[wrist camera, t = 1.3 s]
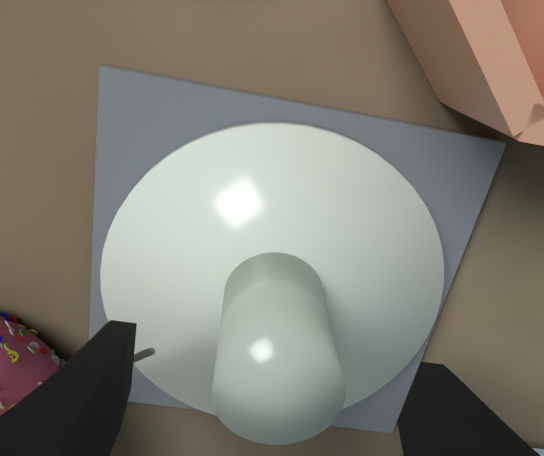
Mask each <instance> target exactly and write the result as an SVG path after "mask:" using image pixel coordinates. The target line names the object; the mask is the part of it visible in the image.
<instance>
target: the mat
mask: <svg viewBox="0 0 544 456" xmlns="http://www.w3.org/2000/svg"><path fill="white" fill-rule="evenodd" d="M283 120H284V121H292V122H301V123H309V124H313V125H317V126H320V127H324V128H328V129H332V130H334V131H337V132H339V133H342V134H344V135H347V136H349V137H352V138H354V139H356V140H357V141H359V142H361V143H363V144H364V145H366V146H368V147H370V148H371V149H373V150H374V151H376V152H377V153H378V154H380V155H381V156H382V157H383V158H385V159H386V160H387V161H388V162H390V163H391V164H392V165H393V166H394V167H395V168H396V169H397V170H398V171H399V172H400V173H401V174H402V176H403V177H404V178H405V179H406V180H407V181H408V182H409V183H410V184H411V185H412V187H413V188H414V189H415V190H416V192H417V193H418V195H419V196H420V198H421V199H422V200H423V202H424V203H425V205H426V206H427V209H428V211H429V213H430V215H431V217H432V219H433V221H434V223H435V225H436V228H437V232H438V235H439V238H440V241H441V245H442V252H443V259H444V286H443V293H442V299H441V304H440V307H439V310H438V313H437V316H436V320H435V322H434V324H433V326H432V328H431V330H430V332H429V335H428V337H427V338H426V340H425V341H424V343H423V345H422V346H421V348H420V349H419V351H418V352H417V354H416V355H415V356H414V357H413V358H412V360H411V361H410V362H409V363H408V364H407V366H406V367H405V368H404V369H403V370H402V371H401V372H400V373H398V374H397V375H396V376H395V377H394V378H393V379H392V380H391V381H390V382H388V383H387V384H386V385H384V386H383V387H382V388H380V389H379V390H378V391H376V392H375V393H373V394H371V395H370V396H368V397H366V398H364V399H363V400H361V401H359V402H357V403H355V404H353V405H351V406H348V407H346V408H344V409H342V410H341V412H340V414H339V415H338V417H337V418H336V419H335V421H334V422H333V423H332V424H331V425H330V426H334V427H342V428H350V429H359V430H367V431H375V432H383V433H393V430H394V428H395V425H396V423H397V420H398V417H399V415H400V412H401V410H402V407H403V405H404V402H405V400H406V397H407V395H408V392H409V390H410V387H411V385H412V382H413V380H414V377H415V374H416V372H417V369H418V367H419V364H420V362H421V359H422V357H423V354H424V352H425V349H426V347H427V344H428V342H429V339H430V337H431V334H432V331H433V329H434V326H435V324H436V321H437V319H438V316H439V314H440V311H441V309H442V306H443V304H444V301H445V299H446V296H447V293H448V291H449V288H450V286H451V283H452V281H453V278H454V276H455V273H456V271H457V268H458V266H459V263H460V261H461V258H462V256H463V253H464V250H465V248H466V245H467V243H468V240H469V238H470V235H471V233H472V230H473V228H474V225H475V223H476V220H477V218H478V215H479V212H480V210H481V207H482V205H483V202H484V200H485V197H486V195H487V192H488V190H489V187H490V185H491V182H492V180H493V177H494V174H495V172H496V169H497V167H498V164H499V162H500V159H501V157H502V154H503V152H504V149H505V147H506V144H507V143H506V142H504V141H502V140H498V139H493V138H488V137H483V136H477V135H472V134H467V133H461V132H456V131H451V130H446V129H440V128H435V127H430V126H425V125H419V124H414V123H409V122H403V121H398V120H393V119H388V118H382V117H377V116H372V115H367V114H361V113H356V112H351V111H345V110H340V109H335V108H330V107H324V106H319V105H314V104H309V103H303V102H298V101H293V100H287V99H282V98H277V97H272V96H266V95H261V94H256V93H251V92H245V91H240V90H235V89H229V88H224V87H219V86H214V85H208V84H203V83H198V82H193V81H187V80H182V79H177V78H171V77H166V76H161V75H156V74H150V73H145V72H140V71H135V70H129V69H124V68H119V67H113V66H108V65H101V66H99V84H98V110H97V136H96V162H95V188H94V214H93V239H92V265H91V291H90V317H89V340H90V339H91V338H92V337H93V336H94V335H95V334H96V333H97V332H98V331H99V330H100V329H101V328H102V327H103V326H104V325H105V324H106V323H107V322H108V319H107V316H106V313H105V310H104V305H103V300H102V294H101V280H100V269H101V261H102V253H103V248H104V245H105V241H106V238H107V234H108V231H109V229H110V227H111V224H112V222H113V220H114V218H115V216H116V214H117V212H118V210H119V208H120V207H121V205H122V204H123V202H124V201H125V199H126V198H127V197H128V195H129V194H130V192H131V191H132V189H133V188H134V187H135V185H136V184H137V183H138V182H139V181H140V179H141V178H142V177H143V176H144V175H145V174H146V173H147V172H148V171H149V170H150V168H151V167H153V166H154V165H155V164H156V163H157V162H159V161H160V160H161V159H162V158H164V157H165V156H166V155H167V154H168V153H170V152H172V151H173V150H175V149H176V148H178V147H180V146H181V145H183V144H185V143H186V142H188V141H190V140H192V139H194V138H197V137H199V136H201V135H203V134H206V133H208V132H210V131H213V130H217V129H220V128H224V127H227V126H231V125H234V124H241V123H248V122H255V121H283ZM128 402H137V403H145V404H153V405H161V406H170V407H178V408H186V409H194V410H199V409H196V408H194V407H191V406H189V405H187V404H185V403H183V402H181V401H179V400H177V399H175V398H174V397H172V396H170V395H169V394H168V393H166V392H165V391H163V390H162V389H160V388H159V387H157V386H156V385H155V384H154V383H153V382H151V381H150V380H149V379H148V378H147V377H146V376H144V375H143V374H142V373H141V372H140V371H139V369H138V368H137V367H136V366H135V365H134V369H133V373H132V384H131V391H130V394H129V398H128Z"/></svg>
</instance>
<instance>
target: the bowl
mask: <svg viewBox="0 0 544 456" xmlns="http://www.w3.org/2000/svg"><path fill="white" fill-rule="evenodd" d="M386 1H387V3H388V5H389V6H390V8H391V10H392V12H393V14H394V16H395V18H396V20H397V22H398V24H399V26H400V27H401V29H402V31H403V33H404V35H405V37H406V39H407V41H408V43H409V45H410V47H411V49H412V50H413V52H414V54H415V56H416V58H417V60H418V62H419V64H420V66H421V68H422V70H423V72H424V73H425V75H426V77H427V79H428V81H429V83H430V85H431V87H432V89H433V91H434V93H435V94H436V96H437V98H438V100H439V101H440V102H442V103H444V104H443V105H446V106H448V107H450V108H452V109H454V110H456V111H458V112H460V113H462V114H464V115H466V116H468V117H470V118H472V119H474V120H476V121H479V122H481V123H483V124H485V125H487V126H489V127H491V128H493V129H495V130H497V131H499V132H501V133H503V134H505V135H507V136H510V137H512V138H514V139H516V140H518V141H521V142H526V143H531V144H536V145H542V146H544V0H386Z"/></svg>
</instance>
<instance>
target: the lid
mask: <svg viewBox="0 0 544 456" xmlns="http://www.w3.org/2000/svg"><path fill="white" fill-rule="evenodd" d="M100 280H101V294H102V300H103V305H104V310H105V313H106V316H107V319H108V322H109V321H110V320H115V321H123V322H130V323H137V327H136V338H135V350H134V354H136V353H138V352H140V351H142V350H145V349H148V348H154V349H155V354H154V355H152V356H149V357H146V358H144V359H142V360H140V361H138V362H135V363H134V365H135V366H136V367H137V368H138V369H139V371H140V372H141V373H142V374H143V375H144V376H146V377H147V378H148V379H149V380H150V381H151V382H153V383H154V384H155V385H156V386H157V387H159V388H160V389H162V390H163V391H165V392H166V393H168V394H169V395H170V396H172V397H174V398H175V399H177V400H179V401H181V402H183V403H185V404H187V405H189V406H191V407H194V408H196V409H199V410H201V411H204V412H206V413H209V414H213V415H216V416H218V418H219V419H220V421H221V422H222V423H223V424H224V425H225V426H226V427H227V428H228V429H229V430H230V431H232V432H233V433H235V434H236V435H238V436H240V437H242V438H244V439H247V440H249V441H252V442H256V443H260V444H266V445H286V444H293V443H298V442H301V441H304V440H307V439H310V438H312V437H314V436H316V435H318V434H319V433H321V432H323V431H324V430H325V429H327V428H328V427H329V426H330V425H331V424H332V423H333V422H334V421H335V419H336V418H337V417H338V415H339V414H340V412H341V410H342V409H344V408H346V407H348V406H351V405H353V404H355V403H357V402H359V401H361V400H363V399H364V398H366V397H368V396H370V395H371V394H373V393H375V392H376V391H378V390H379V389H380V388H382V387H383V386H384V385H386V384H387V383H388V382H390V381H391V380H392V379H393V378H394V377H395V376H396V375H397V374H398V373H400V372H401V371H402V370H403V369H404V368H405V367H406V366H407V364H408V363H409V362H410V361H411V360H412V358H413V357H414V356H415V355H416V354H417V352H418V351H419V349H420V348H421V346H422V345H423V343H424V341H425V340H426V338H427V337H428V335H429V332H430V330H431V328H432V326H433V324H434V322H435V320H436V316H437V313H438V310H439V307H440V304H441V299H442V293H443V286H444V259H443V252H442V245H441V241H440V238H439V235H438V232H437V228H436V225H435V223H434V221H433V219H432V217H431V215H430V213H429V211H428V209H427V206H426V205H425V203H424V202H423V200H422V199H421V198H420V196H419V195H418V193H417V192H416V190H415V189H414V188H413V187H412V185H411V184H410V183H409V182H408V181H407V180H406V179H405V178H404V177H403V176H402V174H401V173H400V172H399V171H398V170H397V169H396V168H395V167H394V166H393V165H392V164H391V163H390V162H388V161H387V160H386V159H385V158H383V157H382V156H381V155H380V154H378V153H377V152H376V151H374V150H373V149H371V148H370V147H368V146H366V145H364V144H363V143H361V142H359V141H357V140H356V139H354V138H352V137H349V136H347V135H344V134H342V133H339V132H337V131H334V130H332V129H328V128H324V127H320V126H317V125H313V124H309V123H301V122H292V121H284V120H283V121H255V122H248V123H241V124H234V125H231V126H227V127H224V128H220V129H217V130H213V131H210V132H208V133H206V134H203V135H201V136H199V137H197V138H194V139H192V140H190V141H188V142H186V143H185V144H183V145H181V146H180V147H178V148H176V149H175V150H173V151H172V152H170V153H168V154H167V155H166V156H165V157H164V158H162V159H161V160H160V161H159V162H157V163H156V164H155V165H154V166H153V167H151V168H150V170H149V171H148V172H147V173H146V174H145V175H144V176H143V177H142V178H141V179H140V181H139V182H138V183H137V184H136V185H135V187H134V188H133V189H132V191H131V192H130V194H129V195H128V197H127V198H126V199H125V201H124V202H123V204H122V205H121V207H120V208H119V210H118V212H117V214H116V216H115V218H114V220H113V222H112V224H111V227H110V229H109V231H108V234H107V238H106V241H105V245H104V248H103V253H102V261H101V269H100Z"/></svg>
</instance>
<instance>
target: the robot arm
mask: <svg viewBox="0 0 544 456" xmlns="http://www.w3.org/2000/svg"><path fill="white" fill-rule="evenodd" d="M136 327H137V323H130V322H123V321H115V320H110V321H109V322H107V323H106V324H105V325H104V326H103V327H102V328H101V329H100V330H99V331H98V332H97V333H96V334H95V335H94V336H93V337H92V338H91V339H90V340H89V341H88V342H87V343H86V344H85V345H84V346H83V347H82V348H81V349H80V350H79V351H78V352H77V353H76V354H75V355H73V356H72V357H71V358H70V359H69V360H68V361H67V362H66V363H65V364H63V365H62V366H61V367H60V368H59V369H58V370H57V371H56V372H54V373H53V374H52V375H51V376H50V377H49V378H47V379H46V380H45V381H44V382H43V383H41V384H40V385H39V386H38V387H36V388H35V389H34V390H33V391H31V392H30V393H29V394H28V395H26V396H25V397H24V398H23V399H21V400H20V401H19V402H17V403H16V404H15V405H13V406H12V407H11V408H9V409H8V410H7V411H5V412H4V413H3V414H1V415H0V456H109V455H110V452H111V450H112V447H113V445H114V442H115V440H116V437H117V434H118V432H119V429H120V426H121V423H122V419H123V416H124V412H125V409H126V405H127V402H128V398H129V394H130V391H131V384H132V373H133V361H134V350H135V338H136ZM397 422H398V428H399V433H400V439H401V444H402V449H403V453H404V456H544V449H538V448H531V447H530V446H529V445H528V444H527V443H526V442H525V441H523V440H522V439H521V438H520V437H519V436H518V435H517V434H516V433H515V432H514V431H513V430H512V429H510V428H509V427H508V426H507V425H506V424H505V423H504V422H503V421H502V420H501V419H500V418H499V417H498V416H497V415H496V414H495V413H494V412H493V411H492V410H491V409H490V408H488V407H487V406H486V405H485V404H484V403H483V402H482V401H481V400H480V399H479V398H478V397H477V396H476V395H475V394H474V393H473V392H472V391H471V390H470V389H469V388H468V387H467V386H466V385H465V384H464V383H463V382H462V381H461V380H460V379H459V378H458V377H456V376H455V375H454V374H453V373H452V372H451V371H450V370H449V369H448V368H446V367H445V366H444V365H442V364H434V363H427V362H420V364H419V367H418V369H417V372H416V374H415V377H414V380H413V382H412V385H411V387H410V390H409V392H408V395H407V397H406V400H405V402H404V405H403V407H402V410H401V412H400V415H399V417H398V420H397Z"/></svg>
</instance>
